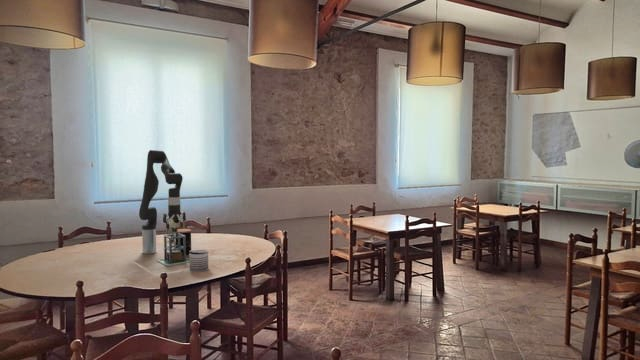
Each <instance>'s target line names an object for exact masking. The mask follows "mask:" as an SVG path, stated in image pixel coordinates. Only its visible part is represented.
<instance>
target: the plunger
mask: <svg viewBox="0 0 640 360" xmlns="http://www.w3.org/2000/svg"><path fill="white" fill-rule="evenodd" d="M176 231H178V227H172V232H174V237H176ZM173 246H174V247H173V249H176V239H174V241H173ZM179 252H180V250H175V251H172V253H179Z"/></svg>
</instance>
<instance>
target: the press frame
mask: <svg viewBox="0 0 640 360" xmlns="http://www.w3.org/2000/svg"><path fill="white" fill-rule="evenodd" d="M177 235H178V236H177ZM170 236H174V234H170V235H168V234H164V235H163V243H164V244H163V251H164V254H163V255H164V258H163V259H164V261H165V262H166V263H168V264H173V263H179V262H185V261H187V260H186V257H187V256H186V236H185V235H182V234H180V233H178V234H176V236H177V237H170ZM176 238H178V245H176V247H178V248H176V249H174V245H173V243H172V241H173V240H172V239H176ZM180 238H183V246H181V245H180ZM167 240H168V241H167ZM167 242H168V243H167ZM167 244H169V245H167ZM180 247H181V248H180ZM182 249H183V252H181V251H180V252H179V253H172V251H175V250H182Z"/></svg>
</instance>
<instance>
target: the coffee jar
mask: <svg viewBox="0 0 640 360" xmlns="http://www.w3.org/2000/svg"><path fill="white" fill-rule="evenodd" d="M191 231H192V230H191V229H190V228H187V229H178V231H176V234H178V233H180V234H182V235H185V236H186V257H187V256H189V253H190V252H189V251H191V250H192V232H191ZM177 236H178V235H177ZM177 236H176V237H177ZM176 245H178V238H176ZM180 245H181V246H183V238H180ZM176 248H178V247H176ZM180 248H181V247H180ZM180 251H181V252H183V249H182V250H180Z"/></svg>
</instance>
